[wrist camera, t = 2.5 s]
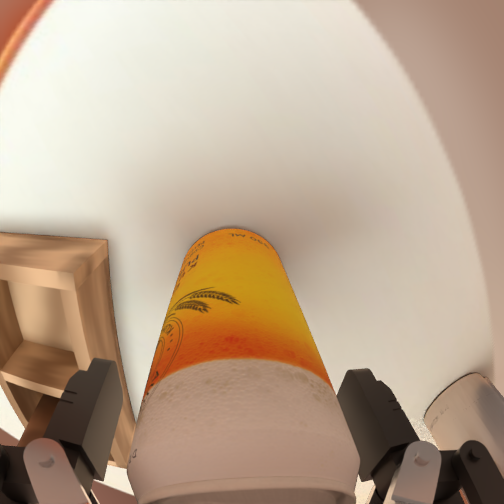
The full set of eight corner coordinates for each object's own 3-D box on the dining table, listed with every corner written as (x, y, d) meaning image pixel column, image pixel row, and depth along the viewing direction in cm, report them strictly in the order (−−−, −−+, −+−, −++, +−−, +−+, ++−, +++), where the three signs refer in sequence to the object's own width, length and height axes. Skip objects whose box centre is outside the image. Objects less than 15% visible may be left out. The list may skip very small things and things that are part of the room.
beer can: (180, 224, 18) (79, 463, 4) (283, 225, 18) (414, 449, 4) (186, 313, 20) (152, 541, 6) (276, 312, 20) (337, 534, 6)
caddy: (107, 239, 18) (-63, 452, 3) (136, 428, 24) (112, 574, 9) (-3, 231, 16) (-154, 348, 1) (50, 408, 23) (2, 529, 8)
